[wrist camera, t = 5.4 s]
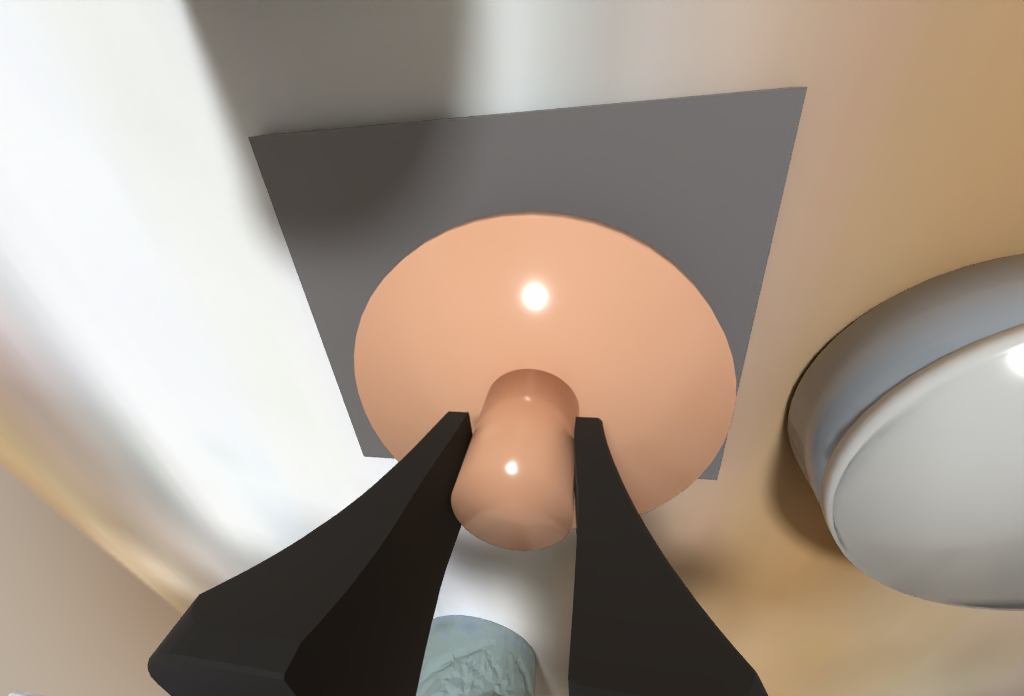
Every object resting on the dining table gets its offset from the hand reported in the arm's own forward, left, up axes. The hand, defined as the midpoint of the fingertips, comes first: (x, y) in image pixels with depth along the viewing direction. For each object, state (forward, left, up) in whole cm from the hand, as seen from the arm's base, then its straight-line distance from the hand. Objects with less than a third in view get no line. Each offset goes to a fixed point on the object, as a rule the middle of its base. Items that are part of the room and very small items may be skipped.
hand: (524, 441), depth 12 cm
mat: (+1, -1, -5) cm, 5 cm away
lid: (0, 0, -2) cm, 3 cm away
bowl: (-15, +2, -5) cm, 16 cm away
